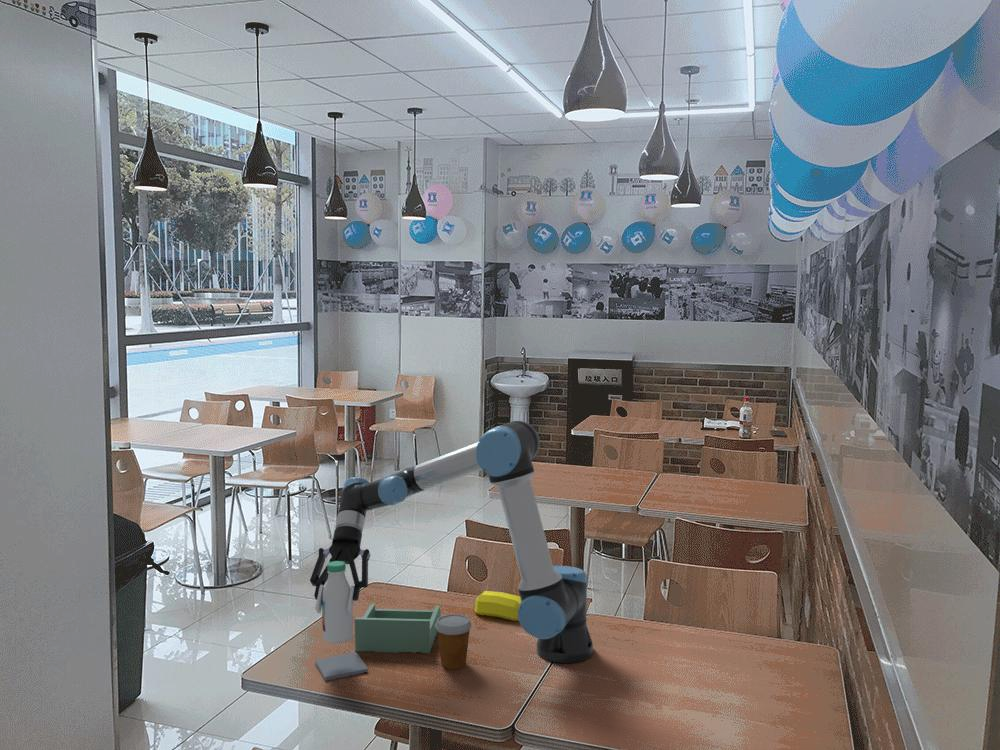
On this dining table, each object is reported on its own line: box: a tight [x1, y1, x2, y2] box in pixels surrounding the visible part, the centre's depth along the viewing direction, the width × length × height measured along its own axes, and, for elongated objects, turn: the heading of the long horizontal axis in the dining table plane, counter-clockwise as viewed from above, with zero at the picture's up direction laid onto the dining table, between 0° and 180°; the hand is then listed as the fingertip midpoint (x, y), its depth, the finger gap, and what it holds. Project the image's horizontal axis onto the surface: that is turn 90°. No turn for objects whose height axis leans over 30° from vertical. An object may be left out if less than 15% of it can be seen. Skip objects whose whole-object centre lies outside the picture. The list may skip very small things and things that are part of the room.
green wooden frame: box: [354, 603, 442, 654], centre depth 235 cm, size 20×20×9 cm
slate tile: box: [314, 651, 369, 682], centre depth 216 cm, size 11×11×1 cm
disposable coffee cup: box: [435, 613, 472, 670], centre depth 217 cm, size 10×10×12 cm
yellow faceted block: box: [473, 590, 521, 622], centre depth 251 cm, size 18×7×8 cm
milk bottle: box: [321, 561, 354, 645], centre depth 215 cm, size 8×8×20 cm
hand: (333, 611), depth 211 cm, fingers closed on milk bottle, 7 cm apart
